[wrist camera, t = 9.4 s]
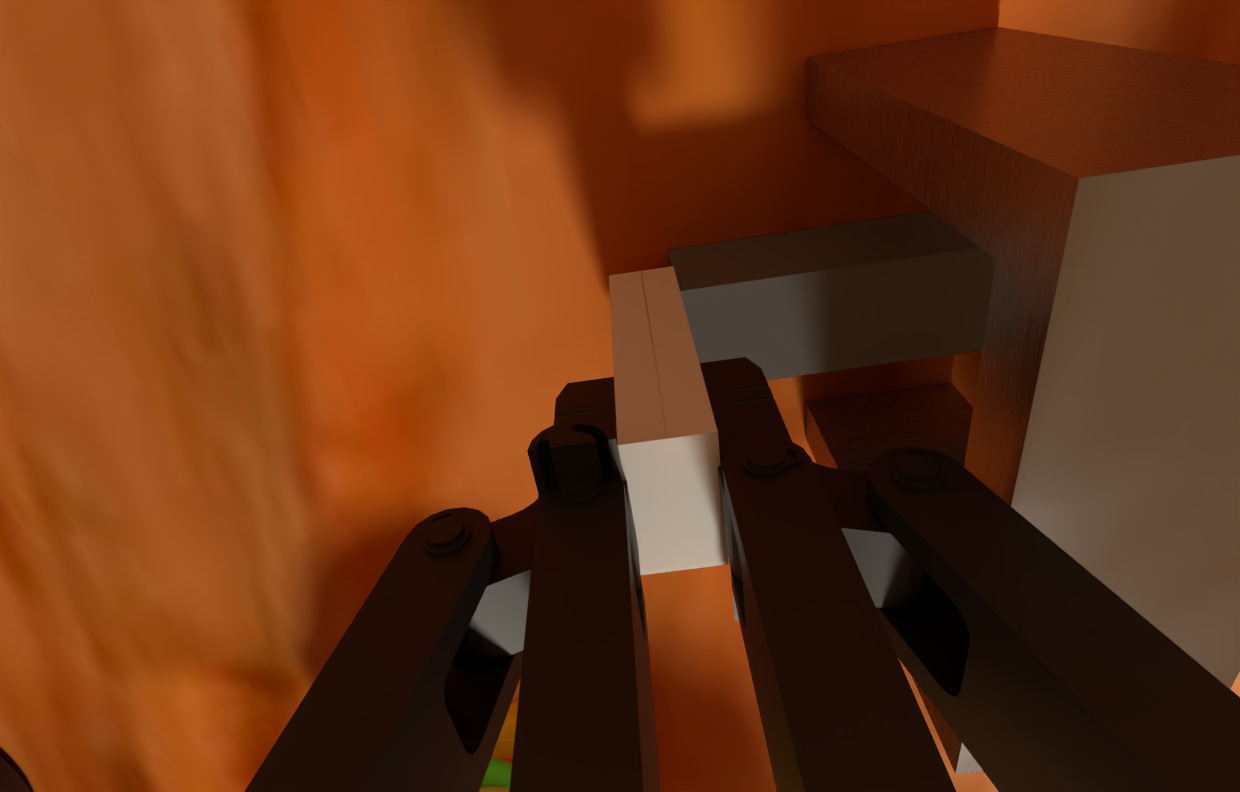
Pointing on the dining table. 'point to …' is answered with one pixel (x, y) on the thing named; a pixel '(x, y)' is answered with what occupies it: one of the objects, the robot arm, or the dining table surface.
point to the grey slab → (1073, 303)
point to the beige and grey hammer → (837, 295)
